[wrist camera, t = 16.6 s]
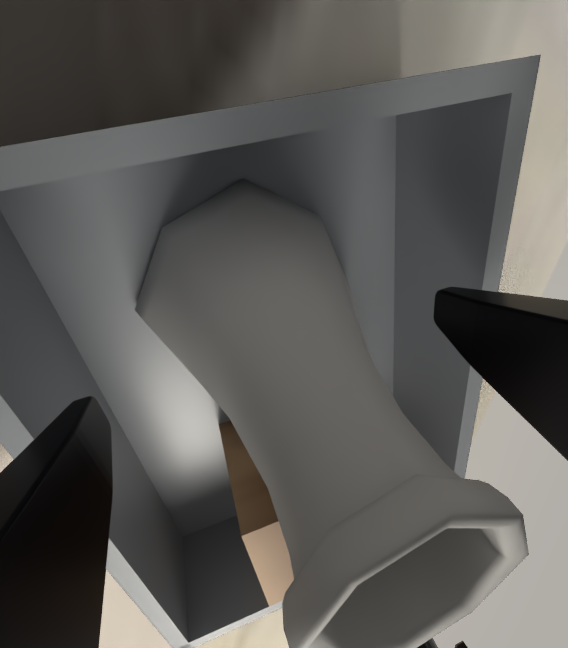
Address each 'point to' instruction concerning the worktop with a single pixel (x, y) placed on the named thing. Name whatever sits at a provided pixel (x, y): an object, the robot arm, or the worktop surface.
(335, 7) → the worktop surface
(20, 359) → the tote
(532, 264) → the worktop surface
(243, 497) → the walnut cube
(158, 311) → the flask
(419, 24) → the worktop surface
